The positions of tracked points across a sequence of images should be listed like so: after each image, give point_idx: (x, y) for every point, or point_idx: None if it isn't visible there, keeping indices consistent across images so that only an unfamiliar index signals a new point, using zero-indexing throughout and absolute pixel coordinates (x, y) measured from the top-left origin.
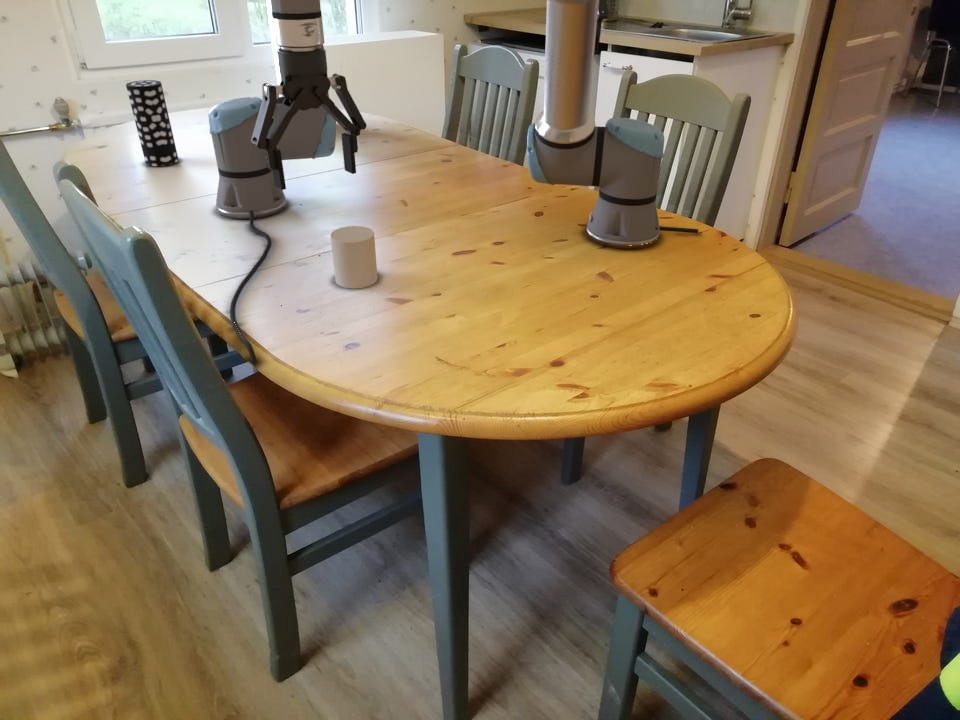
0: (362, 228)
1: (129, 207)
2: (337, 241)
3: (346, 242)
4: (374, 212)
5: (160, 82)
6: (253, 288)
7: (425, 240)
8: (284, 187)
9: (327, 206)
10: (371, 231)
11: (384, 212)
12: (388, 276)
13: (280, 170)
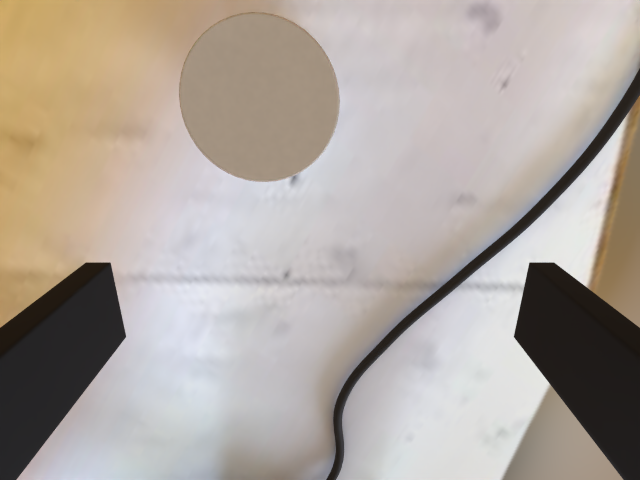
0: (204, 125)
1: None
2: (335, 78)
3: (316, 42)
4: None
5: None
6: (496, 212)
7: (7, 193)
8: (543, 267)
9: (150, 475)
10: (187, 77)
11: None
12: None
13: (622, 320)
